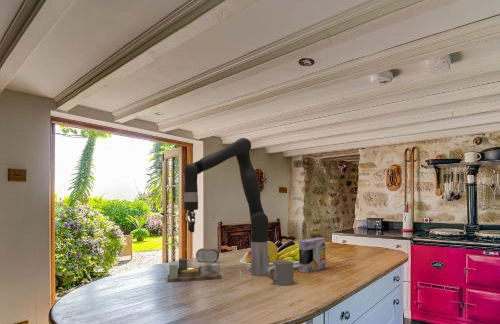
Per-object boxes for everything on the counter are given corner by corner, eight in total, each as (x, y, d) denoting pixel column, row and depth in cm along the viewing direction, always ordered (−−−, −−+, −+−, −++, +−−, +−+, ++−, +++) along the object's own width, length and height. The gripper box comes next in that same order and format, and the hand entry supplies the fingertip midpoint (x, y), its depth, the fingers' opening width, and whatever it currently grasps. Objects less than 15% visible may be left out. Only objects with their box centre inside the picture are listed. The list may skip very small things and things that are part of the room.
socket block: (177, 274, 177) (177, 261, 178) (177, 278, 170) (177, 264, 170) (168, 275, 176) (169, 262, 177) (169, 278, 169) (169, 265, 169)
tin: (219, 261, 219) (219, 248, 220) (218, 262, 216) (218, 249, 217) (196, 261, 221) (196, 248, 222) (195, 262, 218) (195, 248, 219)
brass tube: (206, 272, 179) (206, 257, 180) (207, 273, 176) (207, 258, 176) (173, 273, 175) (173, 258, 176) (173, 275, 171) (174, 260, 172)
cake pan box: (304, 273, 185) (303, 240, 187) (297, 272, 189) (296, 239, 191) (326, 269, 197) (325, 238, 199) (319, 267, 201) (319, 237, 203)
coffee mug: (289, 279, 172) (288, 259, 173) (296, 284, 163) (296, 263, 164) (263, 281, 169) (263, 260, 170) (269, 286, 160) (269, 264, 161)
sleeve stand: (218, 274, 183) (218, 262, 184) (221, 279, 174) (221, 266, 174) (167, 277, 177) (167, 264, 178) (167, 282, 167) (168, 268, 168)
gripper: (199, 200, 177) (200, 232, 176) (196, 200, 191) (196, 230, 189) (185, 201, 175) (185, 233, 174) (182, 201, 189) (183, 230, 187)
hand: (191, 231), depth 182 cm, fingers open, 8 cm apart
